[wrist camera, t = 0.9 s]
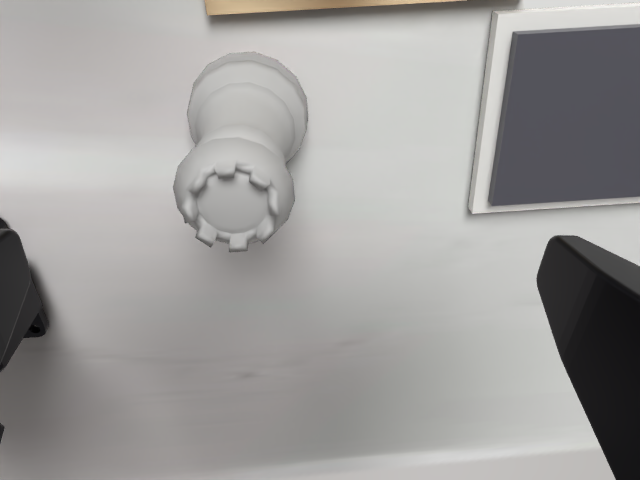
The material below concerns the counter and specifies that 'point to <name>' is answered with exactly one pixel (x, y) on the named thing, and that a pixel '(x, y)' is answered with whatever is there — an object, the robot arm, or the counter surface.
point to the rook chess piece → (241, 150)
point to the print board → (295, 5)
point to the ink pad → (559, 110)
